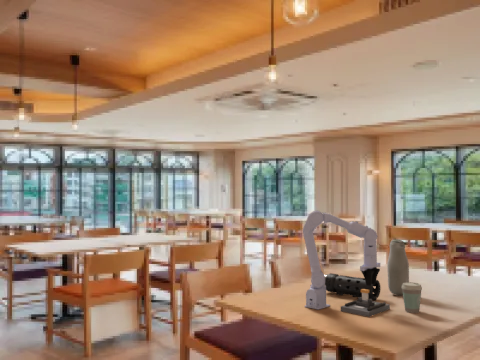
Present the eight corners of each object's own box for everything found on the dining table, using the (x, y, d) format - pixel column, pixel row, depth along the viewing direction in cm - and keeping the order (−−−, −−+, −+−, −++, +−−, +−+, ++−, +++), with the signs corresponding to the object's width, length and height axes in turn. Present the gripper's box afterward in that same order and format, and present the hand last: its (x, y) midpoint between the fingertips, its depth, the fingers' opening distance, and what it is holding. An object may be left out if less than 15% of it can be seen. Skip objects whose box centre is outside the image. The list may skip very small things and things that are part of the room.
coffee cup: (420, 315, 195) (420, 286, 195) (399, 312, 200) (399, 284, 200) (424, 310, 202) (423, 283, 203) (404, 307, 207) (403, 281, 207)
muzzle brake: (372, 302, 217) (371, 281, 218) (321, 294, 236) (321, 274, 236) (381, 299, 225) (380, 277, 225) (331, 291, 243) (330, 271, 243)
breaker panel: (368, 317, 193) (368, 304, 193) (340, 311, 203) (340, 299, 203) (389, 308, 205) (389, 297, 206) (362, 303, 215) (362, 292, 216)
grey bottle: (412, 294, 233) (410, 239, 233) (404, 298, 225) (403, 241, 226) (393, 291, 239) (392, 238, 240) (384, 295, 232) (383, 239, 232)
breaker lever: (367, 300, 202) (367, 290, 203) (360, 299, 205) (360, 289, 205) (369, 300, 204) (369, 289, 204) (363, 298, 206) (363, 288, 206)
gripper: (369, 257, 200) (370, 288, 200) (386, 253, 210) (386, 283, 210) (355, 255, 205) (356, 286, 205) (372, 252, 215) (372, 281, 215)
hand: (370, 284), depth 208 cm, fingers open, 3 cm apart
